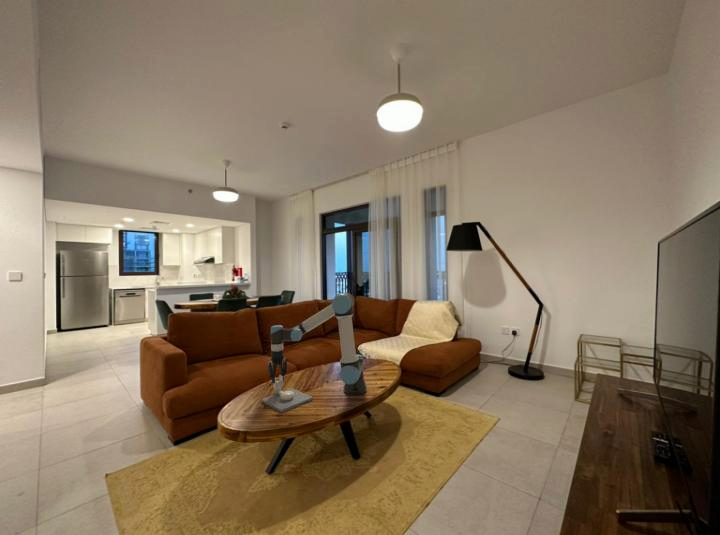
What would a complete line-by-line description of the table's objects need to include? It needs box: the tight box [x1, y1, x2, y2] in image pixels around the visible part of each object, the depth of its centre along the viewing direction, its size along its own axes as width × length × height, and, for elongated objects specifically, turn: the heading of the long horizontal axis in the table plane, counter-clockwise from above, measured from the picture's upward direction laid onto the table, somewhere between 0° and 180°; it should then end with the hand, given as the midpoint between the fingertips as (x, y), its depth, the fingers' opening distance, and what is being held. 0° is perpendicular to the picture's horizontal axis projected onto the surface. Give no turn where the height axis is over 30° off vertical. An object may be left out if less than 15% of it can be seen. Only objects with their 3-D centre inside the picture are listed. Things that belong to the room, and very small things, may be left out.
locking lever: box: [274, 380, 294, 401], centre depth 177 cm, size 17×8×7 cm, turn 45°
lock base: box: [261, 388, 314, 414], centre depth 174 cm, size 22×22×2 cm
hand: (278, 386), depth 182 cm, fingers closed on locking lever, 4 cm apart
